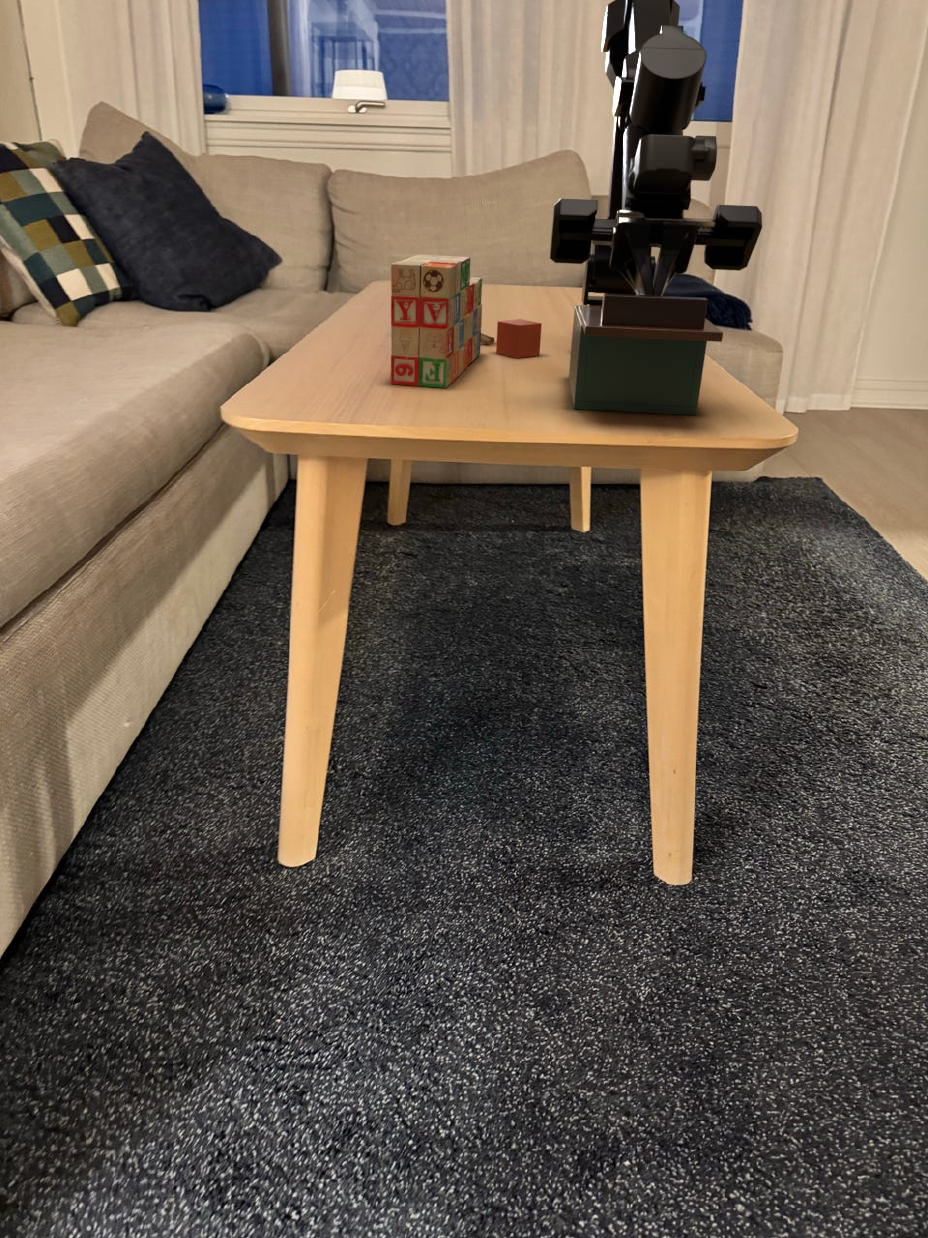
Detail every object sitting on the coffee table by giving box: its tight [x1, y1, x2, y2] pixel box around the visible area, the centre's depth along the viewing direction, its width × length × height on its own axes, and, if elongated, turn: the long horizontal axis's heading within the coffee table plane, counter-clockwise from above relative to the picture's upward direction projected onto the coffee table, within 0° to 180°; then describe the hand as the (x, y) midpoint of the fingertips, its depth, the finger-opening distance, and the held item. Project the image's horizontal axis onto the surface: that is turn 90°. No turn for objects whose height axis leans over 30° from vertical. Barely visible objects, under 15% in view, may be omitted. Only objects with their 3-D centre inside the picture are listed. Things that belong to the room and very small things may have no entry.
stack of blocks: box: [390, 253, 483, 389], centre depth 104 cm, size 21×6×12 cm, turn 169°
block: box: [495, 318, 543, 359], centre depth 116 cm, size 4×4×4 cm
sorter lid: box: [577, 293, 724, 343], centre depth 86 cm, size 15×12×3 cm
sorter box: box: [568, 305, 708, 416], centre depth 94 cm, size 15×12×8 cm
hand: (652, 309), depth 82 cm, fingers closed, pressing on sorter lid
